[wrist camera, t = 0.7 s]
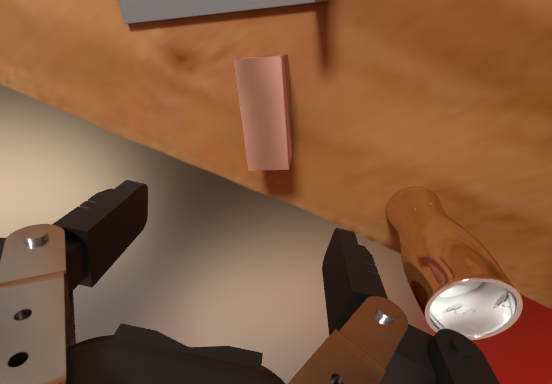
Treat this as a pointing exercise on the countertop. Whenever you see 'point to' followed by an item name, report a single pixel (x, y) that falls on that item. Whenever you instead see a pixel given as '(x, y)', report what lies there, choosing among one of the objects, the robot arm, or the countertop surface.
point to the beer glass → (450, 269)
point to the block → (265, 111)
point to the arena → (194, 8)
